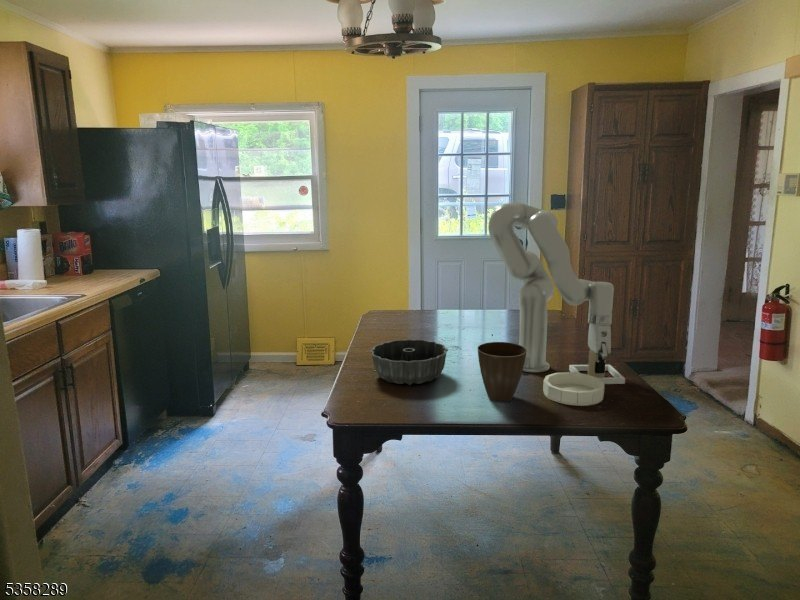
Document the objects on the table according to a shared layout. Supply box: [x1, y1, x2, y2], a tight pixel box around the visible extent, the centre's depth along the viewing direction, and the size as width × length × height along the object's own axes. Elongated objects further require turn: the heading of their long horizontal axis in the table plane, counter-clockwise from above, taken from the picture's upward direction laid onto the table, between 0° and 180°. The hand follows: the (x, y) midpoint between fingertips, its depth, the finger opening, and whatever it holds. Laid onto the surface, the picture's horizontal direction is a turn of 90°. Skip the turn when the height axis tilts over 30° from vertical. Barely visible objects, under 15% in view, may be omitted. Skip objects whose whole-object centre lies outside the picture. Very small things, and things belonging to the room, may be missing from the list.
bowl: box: [542, 371, 606, 407], centre depth 184 cm, size 18×18×4 cm
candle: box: [587, 350, 607, 378], centre depth 199 cm, size 6×6×10 cm
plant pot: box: [477, 341, 527, 403], centre depth 180 cm, size 15×15×16 cm
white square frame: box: [568, 364, 626, 385], centre depth 200 cm, size 14×14×2 cm
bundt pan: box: [369, 338, 449, 386], centre depth 201 cm, size 26×26×10 cm
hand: (596, 369), depth 200 cm, fingers closed on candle, 5 cm apart
